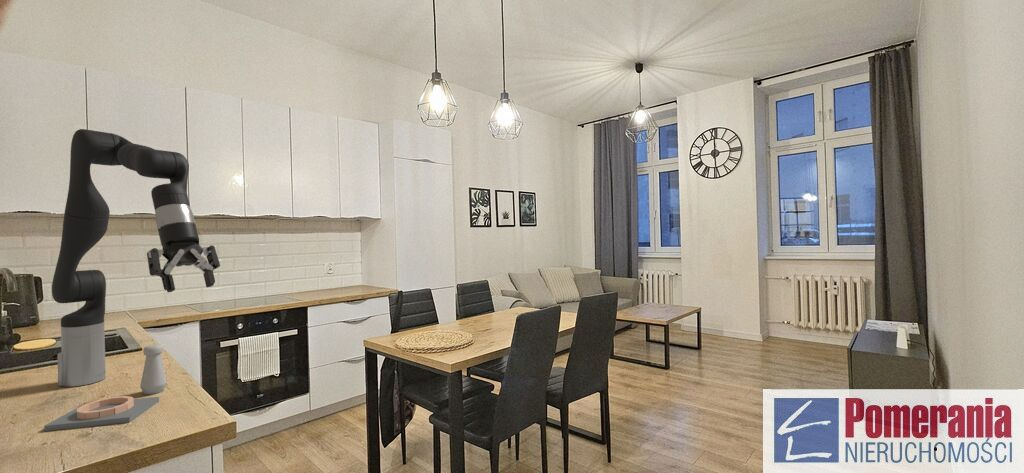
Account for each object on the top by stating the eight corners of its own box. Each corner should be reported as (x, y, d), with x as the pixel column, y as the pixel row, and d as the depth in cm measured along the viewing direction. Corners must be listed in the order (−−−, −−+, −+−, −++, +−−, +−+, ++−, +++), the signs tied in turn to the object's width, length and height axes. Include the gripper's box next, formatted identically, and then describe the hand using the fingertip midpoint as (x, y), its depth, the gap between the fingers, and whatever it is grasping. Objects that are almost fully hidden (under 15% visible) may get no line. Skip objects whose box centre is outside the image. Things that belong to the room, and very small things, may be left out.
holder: (44, 431, 97) (44, 419, 97) (84, 408, 110) (84, 397, 110) (129, 422, 101) (129, 410, 101) (159, 401, 114) (158, 391, 114)
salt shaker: (151, 396, 117) (150, 348, 117) (134, 395, 119) (133, 347, 118) (172, 388, 123) (171, 343, 123) (156, 387, 124) (155, 342, 124)
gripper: (200, 230, 115) (214, 289, 113) (134, 231, 103) (148, 297, 101) (215, 220, 112) (230, 280, 110) (149, 220, 99) (165, 288, 97)
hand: (191, 288), depth 105 cm, fingers open, 8 cm apart
